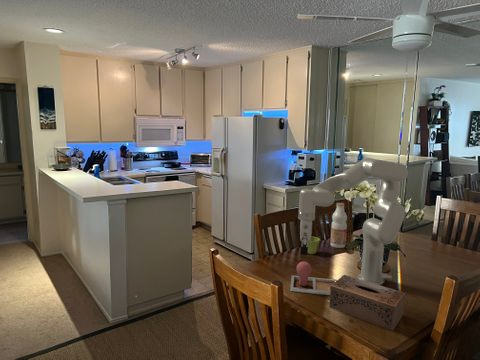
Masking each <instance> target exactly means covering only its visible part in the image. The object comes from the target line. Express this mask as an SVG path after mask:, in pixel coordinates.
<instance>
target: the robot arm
mask: <svg viewBox="0 0 480 360" xmlns="http://www.w3.org/2000/svg"><path fill="white" fill-rule="evenodd" d="M370 177H371V178H373V179H378V180H380V183H381V186H380V190H379V193H378V196H377V198H376V200H375V202H374V206H373V209H372V211H373V213H374V215H376V216H377V217H379V218H382V219H383V220H380V219H378V218H374V217H371V218H367V219H366V220H365V221H364V222H363V225H362V237H363V238H362V239H363V243H362V255H361V267H360V269H361V270H360V273H358V274H357V276H356V277H357V279H360V280H364V281H367V282H370V283H374V284H377V285H380V286H383V284H385V280H392V279H393V277H392V275H391V274H390V275H389V274H388V273H383V272H382V270H383V262H384V249H385V246H384V245H390V244H392V243H393V242H394V241H395V240H396V238H397V236H398V233H399V232H400V229H401V227H402V224H403V222H404V220H405V217H406V216H405V215H406V210H405V207H404V206H403V205H402V204H401V203H399V202H397V201H398V198H399V196H400V192H401V185H400V183H401V182H403V181H406V180H407V178H408V177H409V169H408V167H407V166H406V165H405V164H402V163H397V162H393V161H386V160H382V159H378V158H372V157H366V158H362V159H361V160H359V161H358V162H356V163H355V164H354V165H352V166H351V167H349V168H348V169H346V170H344V171H343V172H341V173H339V174H337V175H334V176H331V177H329V178H327V179H324V180H323V181H321V182H320V183H318V184H317V185H316V186H314V187H313V188H312V189H310V188H308V189H307V188H303V189H300V191H299V200H298V213H297V214H298V215H297V219H298V220H299V221H300V224H299V235H300V237H299V238H300V239H299V241H300V255H303V256H308V254H309V253H308V241H310V242H311V236H312V233H313V231H312V230H313V221H315V219H316V206H317V207H325V208H326V207H330V206H332V205H333V204H334V203H335V195H334V192H337V191H341V190H349V189H350V190H351V189H353V188H355V187H356V186H358V185H359V184H361V183H362V182H364V181H365V180H367V179H368V178H370Z"/></svg>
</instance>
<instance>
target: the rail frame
mask: <svg viewBox="0 0 480 360" xmlns="http://www.w3.org/2000/svg"><path fill="white" fill-rule="evenodd" d="M296 280H297V281H299V280H300V279H299V275H291V279H290V292H296V293H303V294H304V293H305V294H314V295H322V296H323V295H324V296H330V288H331V285H332V284H333V283H335V282H336V281H337V280H338V279H333V278H332V279H330V278H323V277H322V278H321V277H320V278H319V277H313V276H312V277H311V276H309V277H308V280H307V282H312V288H304V287H295V286H294V284H295V283H294V282H295V281H296Z"/></svg>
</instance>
